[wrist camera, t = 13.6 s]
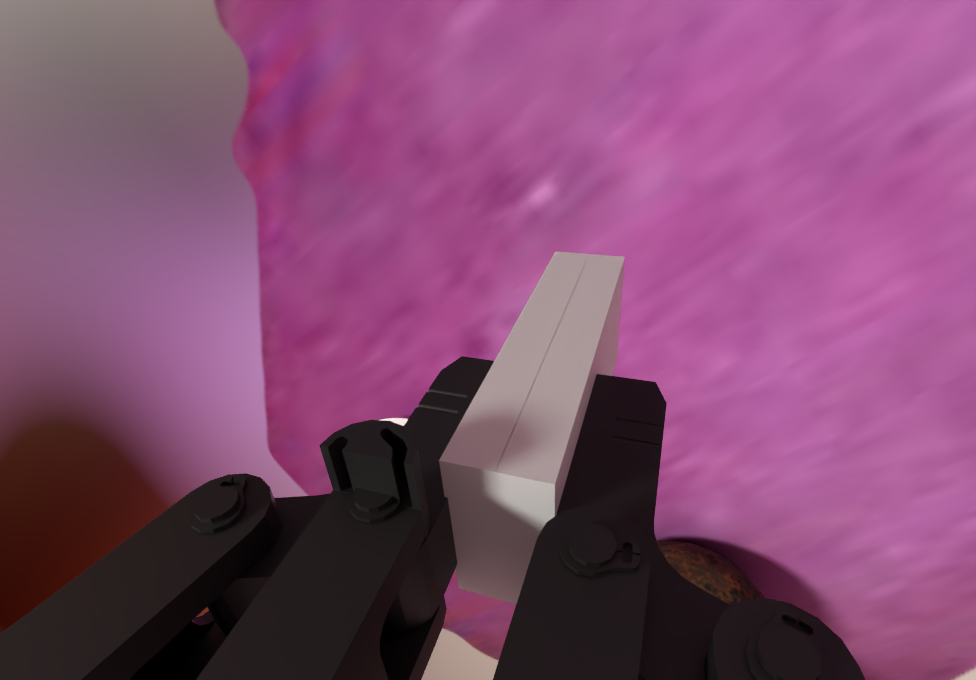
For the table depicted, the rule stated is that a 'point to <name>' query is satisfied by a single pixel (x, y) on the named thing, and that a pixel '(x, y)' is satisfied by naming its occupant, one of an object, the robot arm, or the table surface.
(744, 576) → the dark brown vase
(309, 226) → the table surface
